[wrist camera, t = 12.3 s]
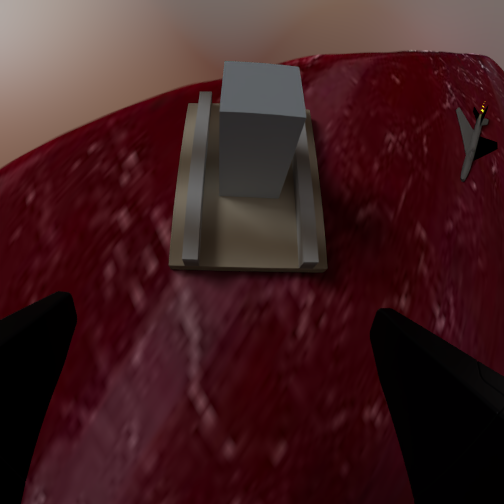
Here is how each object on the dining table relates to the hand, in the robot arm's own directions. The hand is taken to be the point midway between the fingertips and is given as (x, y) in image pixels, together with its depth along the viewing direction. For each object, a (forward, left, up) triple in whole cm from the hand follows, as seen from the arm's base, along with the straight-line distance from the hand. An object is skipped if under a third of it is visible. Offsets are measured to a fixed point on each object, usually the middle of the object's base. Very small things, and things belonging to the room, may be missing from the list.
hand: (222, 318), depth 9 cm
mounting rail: (+10, -7, -13) cm, 18 cm away
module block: (+10, -7, -12) cm, 18 cm away
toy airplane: (+7, -38, -14) cm, 41 cm away
